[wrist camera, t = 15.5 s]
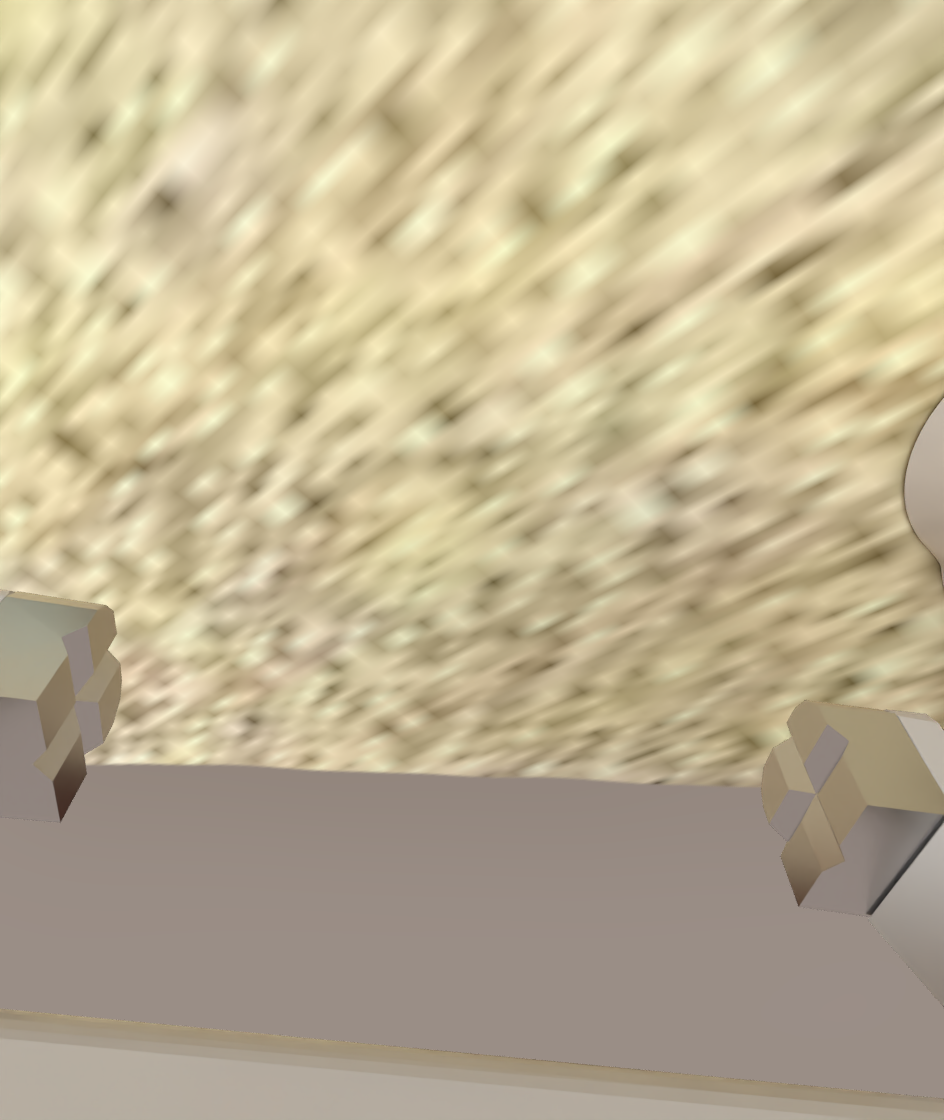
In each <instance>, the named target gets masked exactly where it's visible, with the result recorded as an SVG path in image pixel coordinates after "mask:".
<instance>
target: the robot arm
mask: <svg viewBox="0 0 944 1120" xmlns="http://www.w3.org/2000/svg"><path fill="white" fill-rule="evenodd" d="M905 505H906V510H907V514H908V518H909V520H910V523H911V525H912V527H913V530H914V531H915V533H916V535H917V536H918V538H919V539H920V540H921V542H922V543H923V544H924V545H925V546H926V547H927V548H928V549H929V550H930V552H931V553H932V554H933V555H934V556H935V557H936V559H937V560H938V562H939V564H940V565H941V572H942V580H943V586H944V398H943V399H942V401H941V402H940V403H939V404H938V406H937V407H936V409H935V410H934V411H933V413H932V414H931V416H930V417H929V419H928V420H927V422H926V424H925V425H924V427H923V429H922V431H921V432H920V435H919V437H918V439H917V441H916V443H915V445H914V448H913V450H912V453H911V456H910V459H909V463H908V467H907V471H906V478H905ZM116 635H117V631H116V624H115V618H114V611H113V610H112V609H110V608H109V607H108V606H106V605H101V604H95V603H89V602H82V601H76V600H70V599H63V598H57V597H51V596H44V595H38V594H32V593H25V592H19V591H17V592H13V591H8V590H1V589H0V817H1V818H12V819H23V820H35V821H47V822H58V823H60V822H61V821H62V819H63V817H64V815H65V813H66V811H67V810H68V808H69V806H70V804H71V802H72V800H73V798H74V797H75V795H76V793H77V791H78V789H79V787H80V786H81V784H82V782H83V780H84V778H85V776H86V775H87V772H86V764H85V758H84V754H86V753H88V752H89V751H91V750H93V749H94V748H96V747H98V746H99V745H101V744H103V743H104V741H105V739H106V737H107V735H108V733H109V731H110V729H111V727H112V725H113V723H114V719H115V716H116V712H117V709H118V705H119V702H120V697H121V684H122V676H121V665H120V663H119V661H118V660H117V659H116V658H115V657H114V656H113V655H112V654H111V653H110V652H109V651H108V648H109V646H110V645H111V643H112V641H113V640H114V638H115V636H116ZM787 725H788V728H789V730H790V733H791V736H792V737H791V738H789V739H787V740H786V741H784V742H782V743H781V744H779V745H777V746H776V747H774V748H773V749H772V751H771V753H770V755H769V757H768V759H767V761H766V764H765V766H764V768H763V776H762V784H761V794H762V802H763V808H764V811H765V813H766V816H767V819H768V822H769V825H770V826H771V827H772V828H773V829H775V830H776V831H777V832H778V833H779V834H780V835H781V836H782V837H783V838H784V839H785V840H786V841H787V843H786V845H785V848H784V850H783V852H782V854H781V859H782V862H783V865H784V868H785V870H786V873H787V876H788V879H789V882H790V884H791V887H792V889H793V892H794V895H795V898H796V901H797V904H798V906H799V907H803V908H810V909H817V910H824V911H831V912H838V913H845V914H852V915H859V916H866V917H870V918H869V919H868V921H869V922H870V923H871V924H872V926H873V927H874V928H875V929H876V930H877V931H878V933H879V934H880V935H881V936H882V937H883V938H884V939H885V940H886V942H887V943H888V944H889V945H890V946H891V947H892V948H893V950H894V951H895V952H896V953H897V954H898V955H899V957H900V958H901V959H902V960H903V961H904V962H905V963H906V965H907V966H908V967H909V968H910V969H911V970H912V971H913V973H914V974H915V975H916V976H917V977H918V978H919V979H920V981H921V982H922V983H923V984H924V985H925V986H926V987H927V989H928V990H929V991H930V992H931V993H932V994H933V995H934V997H935V998H936V999H937V1000H938V1001H939V1002H940V1004H941V1005H942V1006H943V1007H944V731H943V729H942V728H941V726H940V725H939V723H938V722H937V721H935V720H934V719H933V718H931V717H930V716H928V715H927V714H920V713H912V712H903V711H894V710H879V709H871V708H864V707H856V706H848V705H840V704H832V703H825V702H817V701H809V700H804V701H803V702H802V703H801V704H799V705H798V706H797V707H796V708H795V709H794V711H793V712H792V714H791V716H790V718H789V720H788V721H787ZM0 1120H944V1099H943V1098H932V1097H922V1096H911V1095H901V1094H890V1093H880V1092H870V1091H859V1090H849V1089H839V1088H828V1087H818V1086H807V1085H796V1084H786V1083H776V1082H765V1081H755V1080H744V1079H734V1078H723V1077H713V1076H702V1075H691V1074H681V1073H670V1072H661V1071H650V1070H640V1069H630V1068H619V1067H608V1066H598V1065H587V1064H577V1063H567V1062H556V1061H546V1060H536V1059H525V1058H514V1057H503V1056H493V1055H482V1054H472V1053H461V1052H451V1051H439V1050H429V1049H419V1048H408V1047H397V1046H387V1045H376V1044H365V1043H355V1042H345V1041H334V1040H323V1039H312V1038H301V1037H292V1036H291V1037H290V1036H281V1035H271V1034H260V1033H250V1032H239V1031H228V1030H217V1029H207V1028H196V1027H187V1026H176V1025H166V1024H155V1023H145V1022H134V1021H124V1020H113V1019H103V1018H92V1017H82V1016H71V1015H61V1014H51V1013H39V1012H29V1011H19V1010H9V1009H0Z"/></svg>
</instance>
